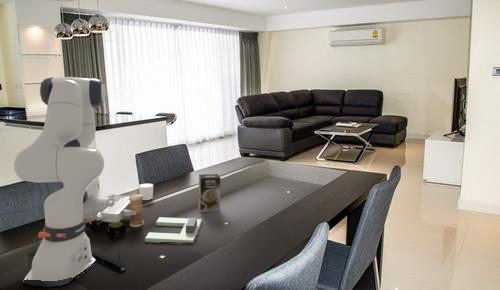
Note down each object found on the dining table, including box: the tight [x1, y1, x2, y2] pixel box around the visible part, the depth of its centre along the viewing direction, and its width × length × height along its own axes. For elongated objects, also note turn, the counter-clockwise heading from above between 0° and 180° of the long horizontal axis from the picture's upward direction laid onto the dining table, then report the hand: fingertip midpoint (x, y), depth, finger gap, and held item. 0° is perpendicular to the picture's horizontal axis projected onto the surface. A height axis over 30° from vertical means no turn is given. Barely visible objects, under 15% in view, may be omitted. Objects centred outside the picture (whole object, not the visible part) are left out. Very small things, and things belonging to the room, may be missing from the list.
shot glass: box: [138, 182, 154, 201], centre depth 191 cm, size 7×7×7 cm
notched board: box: [144, 217, 203, 243], centre depth 156 cm, size 20×18×4 cm
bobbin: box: [128, 194, 145, 228], centre depth 161 cm, size 6×6×12 cm
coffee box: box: [197, 173, 221, 213], centre depth 179 cm, size 9×6×16 cm
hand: (138, 209), depth 161 cm, fingers closed on bobbin, 5 cm apart
